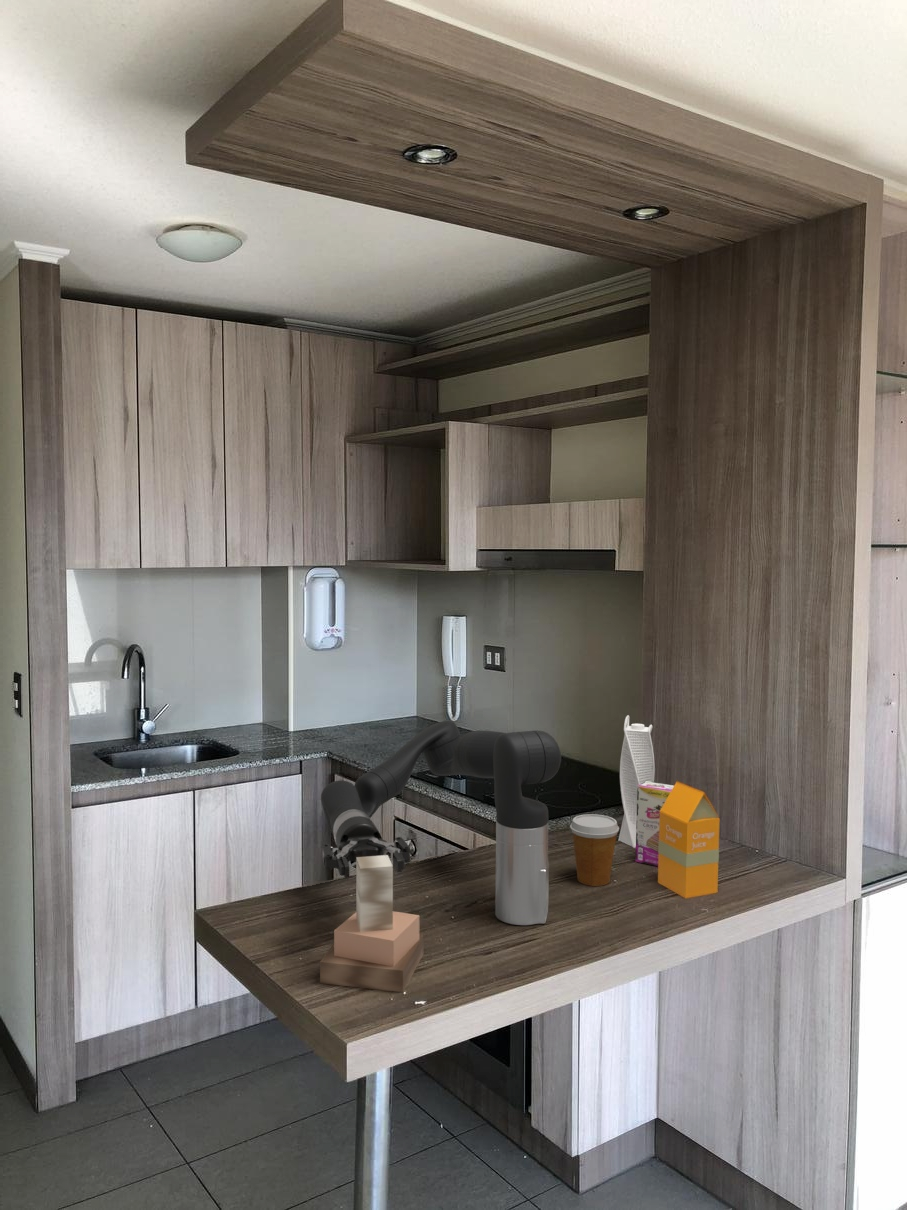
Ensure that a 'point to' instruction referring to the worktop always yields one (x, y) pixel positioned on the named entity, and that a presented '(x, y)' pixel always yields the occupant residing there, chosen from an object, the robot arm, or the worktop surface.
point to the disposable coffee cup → (594, 847)
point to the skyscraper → (634, 774)
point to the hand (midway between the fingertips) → (373, 869)
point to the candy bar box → (649, 820)
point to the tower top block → (377, 940)
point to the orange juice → (688, 843)
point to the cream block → (374, 893)
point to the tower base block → (371, 970)
